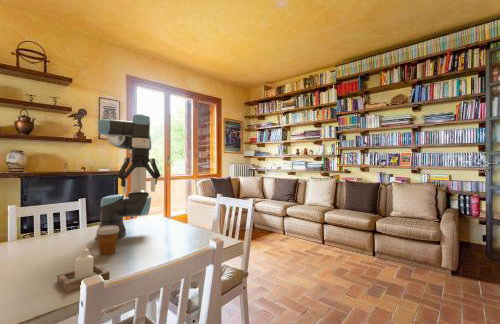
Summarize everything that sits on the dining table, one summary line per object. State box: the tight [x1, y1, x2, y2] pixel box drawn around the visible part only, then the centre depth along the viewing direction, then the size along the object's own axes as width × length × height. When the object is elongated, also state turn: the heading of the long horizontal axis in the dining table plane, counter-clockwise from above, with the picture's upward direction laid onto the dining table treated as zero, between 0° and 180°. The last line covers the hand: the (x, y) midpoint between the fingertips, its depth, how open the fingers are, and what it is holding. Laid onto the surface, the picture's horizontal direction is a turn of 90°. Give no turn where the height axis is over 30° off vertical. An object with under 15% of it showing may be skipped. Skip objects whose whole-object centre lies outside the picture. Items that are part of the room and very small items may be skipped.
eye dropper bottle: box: [74, 245, 94, 281], centre depth 91 cm, size 4×6×12 cm
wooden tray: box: [56, 263, 111, 293], centre depth 91 cm, size 11×13×2 cm
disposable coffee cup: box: [96, 225, 120, 256], centre depth 118 cm, size 10×10×12 cm
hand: (139, 192), depth 118 cm, fingers open, 13 cm apart
